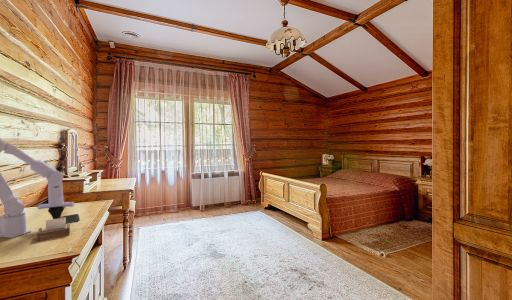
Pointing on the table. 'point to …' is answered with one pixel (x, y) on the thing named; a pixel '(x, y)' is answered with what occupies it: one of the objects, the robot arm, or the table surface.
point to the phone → (71, 218)
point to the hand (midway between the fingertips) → (57, 221)
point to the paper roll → (55, 224)
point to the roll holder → (53, 233)
